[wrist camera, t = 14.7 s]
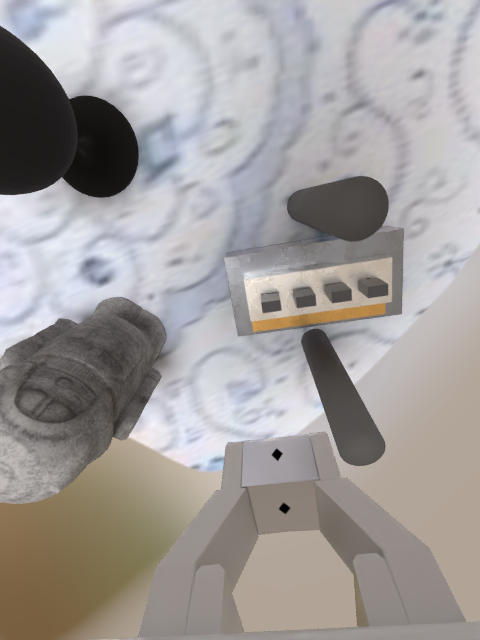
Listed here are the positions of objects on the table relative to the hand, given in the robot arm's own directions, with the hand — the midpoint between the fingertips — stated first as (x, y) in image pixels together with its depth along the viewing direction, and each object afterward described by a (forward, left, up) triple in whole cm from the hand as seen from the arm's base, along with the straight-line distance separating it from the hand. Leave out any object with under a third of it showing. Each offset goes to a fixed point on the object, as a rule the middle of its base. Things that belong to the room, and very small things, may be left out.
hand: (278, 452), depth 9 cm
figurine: (+7, -20, -32) cm, 39 cm away
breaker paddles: (+3, +6, -26) cm, 27 cm away
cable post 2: (+12, +6, -32) cm, 35 cm away
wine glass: (-16, -17, -32) cm, 40 cm away
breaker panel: (+3, +6, -32) cm, 33 cm away
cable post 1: (-6, +6, -32) cm, 33 cm away
